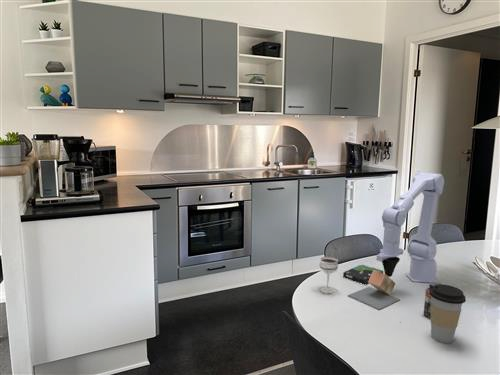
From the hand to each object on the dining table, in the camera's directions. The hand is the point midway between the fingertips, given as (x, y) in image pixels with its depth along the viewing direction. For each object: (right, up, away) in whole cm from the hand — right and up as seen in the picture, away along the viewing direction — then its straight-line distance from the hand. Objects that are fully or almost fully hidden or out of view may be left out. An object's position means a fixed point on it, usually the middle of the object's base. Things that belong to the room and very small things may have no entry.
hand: (388, 275), depth 141 cm
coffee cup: (+5, -12, -29) cm, 32 cm away
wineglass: (-23, -6, +1) cm, 23 cm away
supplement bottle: (+9, -10, -17) cm, 21 cm away
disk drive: (-5, -5, +16) cm, 17 cm away
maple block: (0, -4, +1) cm, 4 cm away
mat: (-7, -7, -4) cm, 11 cm away
